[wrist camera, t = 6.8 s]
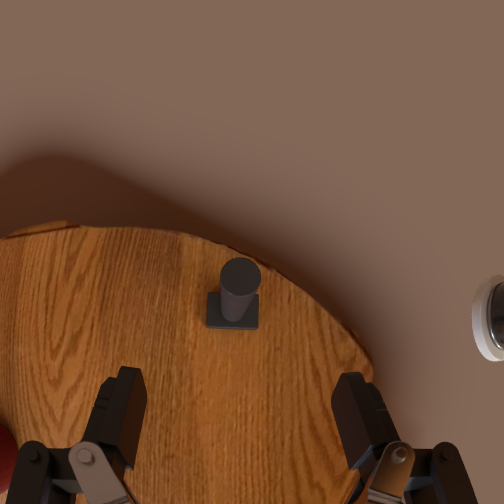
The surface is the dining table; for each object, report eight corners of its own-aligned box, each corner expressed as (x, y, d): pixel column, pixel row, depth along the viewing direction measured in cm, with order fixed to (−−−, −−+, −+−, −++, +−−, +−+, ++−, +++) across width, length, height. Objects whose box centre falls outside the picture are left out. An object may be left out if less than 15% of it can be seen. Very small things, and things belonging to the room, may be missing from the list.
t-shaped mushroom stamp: (256, 297, 27) (285, 250, 15) (256, 330, 26) (285, 308, 14) (208, 295, 27) (198, 245, 15) (207, 328, 26) (193, 304, 14)
